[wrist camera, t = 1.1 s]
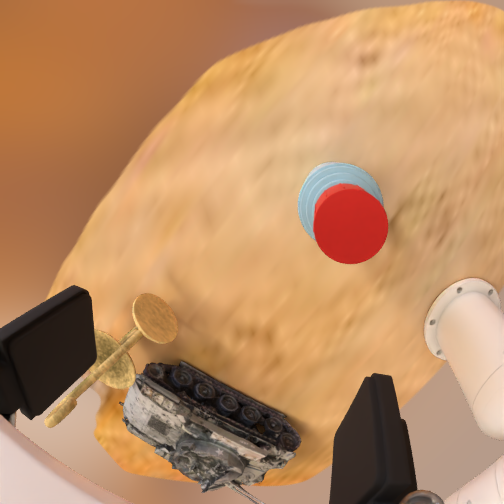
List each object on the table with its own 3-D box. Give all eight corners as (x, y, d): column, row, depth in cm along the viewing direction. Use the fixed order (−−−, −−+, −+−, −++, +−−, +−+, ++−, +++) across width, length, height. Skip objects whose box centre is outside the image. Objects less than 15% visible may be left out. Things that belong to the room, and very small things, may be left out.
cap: (378, 187, 18) (392, 193, 14) (371, 248, 19) (382, 267, 16) (316, 180, 19) (316, 185, 15) (311, 242, 20) (310, 260, 16)
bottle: (362, 165, 32) (414, 172, 14) (357, 220, 34) (397, 287, 16) (306, 159, 34) (294, 159, 15) (302, 215, 35) (286, 276, 17)
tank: (270, 465, 50) (255, 526, 36) (130, 393, 51) (90, 445, 37) (317, 426, 45) (310, 499, 31) (151, 339, 46) (100, 398, 32)
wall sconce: (157, 267, 41) (24, 370, 18) (201, 320, 42) (105, 455, 19) (108, 313, 46) (1, 403, 23) (146, 357, 47) (57, 463, 24)
